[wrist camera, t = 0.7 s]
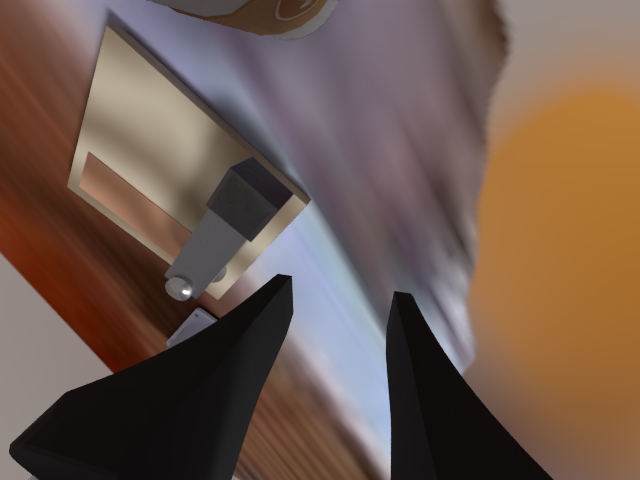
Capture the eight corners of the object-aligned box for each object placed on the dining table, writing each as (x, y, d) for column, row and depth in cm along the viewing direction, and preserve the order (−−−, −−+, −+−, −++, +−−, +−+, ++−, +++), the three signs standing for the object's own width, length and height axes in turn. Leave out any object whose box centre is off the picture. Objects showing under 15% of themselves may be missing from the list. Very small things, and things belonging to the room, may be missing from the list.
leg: (214, 284, 24) (191, 310, 21) (181, 259, 23) (152, 283, 20) (293, 193, 18) (276, 213, 15) (252, 156, 17) (225, 169, 14)
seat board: (224, 292, 26) (216, 301, 25) (80, 182, 23) (64, 187, 22) (310, 199, 19) (306, 206, 18) (123, 29, 17) (103, 23, 15)
